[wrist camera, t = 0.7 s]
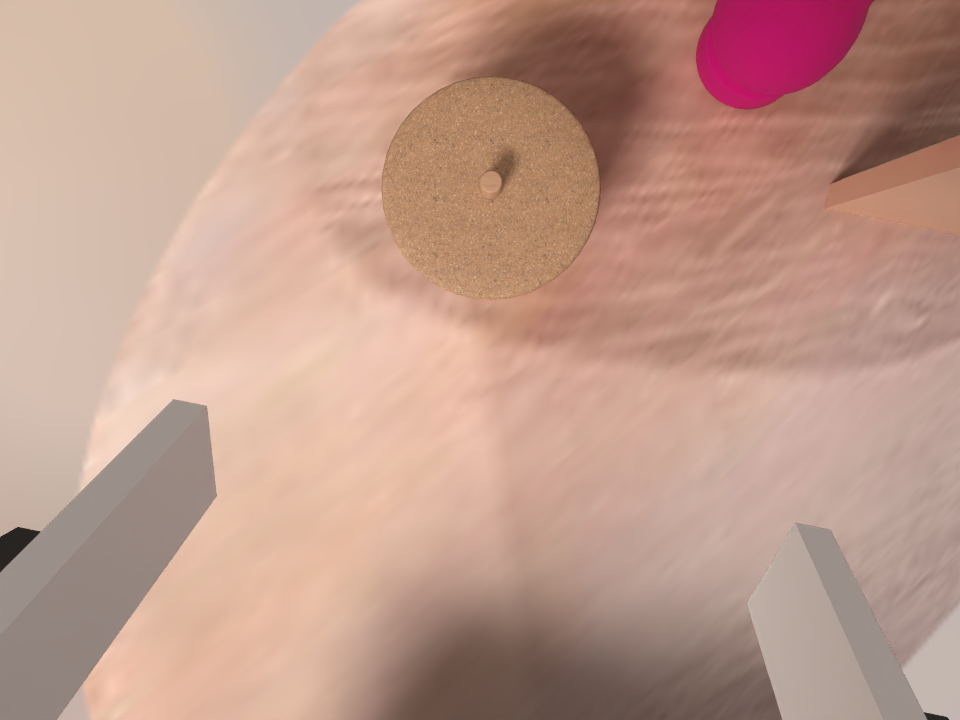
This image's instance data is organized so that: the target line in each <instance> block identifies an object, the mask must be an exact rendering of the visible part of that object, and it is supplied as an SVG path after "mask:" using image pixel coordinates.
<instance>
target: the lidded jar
mask: <svg viewBox="0 0 960 720" xmlns="http://www.w3.org/2000/svg"><path fill="white" fill-rule="evenodd" d="M600 191H601V185H600V172H599V167H598V162H597V158H596V154H595V151H594V149H593V146H592V144H591V141H590V139H589V137H588V135H587V133H586V132H585V130H584V128H583V127H582V125H581V123H580V122H579V121H578V119H577V118H576V117H575V116H574V115H573V113H572V112H571V111H570V110H569V109H568V108H567V107H566V106H565V105H564V104H563V103H561V102H560V101H559V100H558V99H557V98H556V97H554V96H552V95H551V94H549V93H548V92H546V91H544V90H543V89H541V88H539V87H537V86H534V85H532V84H529V83H527V82H524V81H520V80H516V79H512V78H507V77H492V76H488V77H478V78H471V79H467V80H463V81H459V82H456V83H453V84H451V85H449V86H447V87H444V88H442V89H440V90H438V91H437V92H435V93H434V94H432V95H431V96H429V97H428V98H426V99H425V100H424V101H423V102H421V103H420V104H419V105H418V106H417V107H416V108H415V109H414V110H413V111H412V112H411V113H410V114H409V116H408V117H407V118H406V119H405V121H404V122H403V123H402V124H401V126H400V128H399V129H398V131H397V133H396V135H395V136H394V138H393V140H392V142H391V145H390V148H389V150H388V153H387V156H386V160H385V165H384V169H383V176H382V199H383V209H384V213H385V216H386V220H387V224H388V227H389V229H390V232H391V234H392V236H393V238H394V241H395V242H396V244H397V246H398V247H399V249H400V250H401V252H402V254H403V255H404V256H405V258H406V259H407V260H408V261H409V262H410V263H411V264H412V266H413V267H414V268H415V269H416V270H417V271H419V272H420V273H421V274H422V275H423V276H424V277H426V278H427V279H428V280H430V281H431V282H433V283H435V284H436V285H438V286H440V287H441V288H443V289H445V290H448V291H450V292H453V293H455V294H458V295H461V296H465V297H470V298H474V299H486V300H496V299H508V298H512V297H516V296H520V295H524V294H527V293H529V292H531V291H534V290H536V289H538V288H541V287H542V286H544V285H545V284H547V283H549V282H550V281H552V280H553V279H555V278H556V277H557V276H559V275H560V274H561V273H562V272H563V271H564V270H565V269H567V268H568V267H569V266H570V264H571V263H572V262H573V261H574V260H575V258H576V257H577V256H578V255H579V254H580V252H581V250H582V249H583V247H584V245H585V244H586V242H587V241H588V239H589V236H590V234H591V232H592V229H593V227H594V224H595V221H596V217H597V213H598V209H599V203H600Z"/></svg>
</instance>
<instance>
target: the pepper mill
mask: <svg viewBox="0 0 960 720" xmlns="http://www.w3.org/2000/svg"><path fill="white" fill-rule="evenodd" d="M873 1H874V0H717V3H716V5H715V10H714V14H713V16H712V18H711V19H710V20H709V22H708V23H707V25H706V26H705V28H704V29H703V31H702V33H701V36H700V38H699V41H698V46H697V52H696V63H697V69H698V72H699V76H700V78H701V80H702V82H703V84H704V86H705V88H706V89H707V90H708V91H709V93H711V94H712V95H713V96H714V97H715V98H716V99H717V100H719V101H720V102H722V103H724V104H726V105H729V106H731V107H734V108H740V109H754V108H759V107H763V106H766V105H768V104H770V103H772V102H774V101H776V100H777V99H778V98H780V97H781V96H783V95H784V94H788V93H793V92H796V91H799V90H801V89H804V88H806V87H809V86H810V85H812V84H814V83H815V82H817V81H819V80H820V79H821V78H822V77H824V76H825V75H826V74H827V73H828V72H829V71H831V70H832V69H833V68H834V67H835V66H836V65H837V64H838V63H839V62H840V61H841V60H842V59H843V58H844V57H845V55H846V54H847V53H848V51H849V50H850V48H851V47H852V45H853V44H854V42H855V41H856V39H857V37H858V35H859V33H860V31H861V29H862V27H863V24H864V21H865V18H866V15H867V12H868V9H869V6H870V5H871V4H872V2H873Z"/></svg>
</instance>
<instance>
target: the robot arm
mask: <svg viewBox="0 0 960 720" xmlns="http://www.w3.org/2000/svg"><path fill="white" fill-rule="evenodd" d="M216 496H217V495H216V485H215V476H214V467H213V458H212V448H211V439H210V430H209V421H208V411H207V406H205V405H200V404H195V403H190V402H184V401H179V400H174V399H173V400H172V401H171V402H170V403H169V404H168V405H167V406H166V407H165V408H164V409H163V410H162V411H161V412H160V413H159V414H158V415H157V416H156V417H155V418H154V419H153V420H152V421H151V422H150V423H149V424H148V425H147V426H146V427H145V428H144V429H143V430H142V431H141V432H140V433H139V434H138V435H137V436H136V437H135V438H134V439H133V440H132V441H131V442H130V443H129V444H128V445H127V446H126V447H125V448H124V449H123V450H122V451H121V452H120V453H119V454H118V455H117V456H116V457H115V458H114V459H113V460H112V461H111V462H110V463H109V464H108V465H107V466H106V467H105V468H104V469H103V470H102V471H101V472H100V473H99V474H98V475H97V476H96V477H95V478H94V479H93V480H92V481H91V482H90V483H89V484H88V485H87V486H86V487H85V488H84V489H83V490H82V491H81V492H80V493H79V494H78V495H77V496H76V497H75V498H74V499H73V500H72V501H71V502H70V503H69V504H68V505H67V506H66V507H65V508H64V510H62V511H61V512H60V513H59V514H58V515H57V516H56V517H55V518H54V519H53V520H52V521H51V522H50V523H49V524H48V525H47V526H46V527H45V528H44V530H42V531H41V532H40V531H34V530H30V529H25V528H20V527H17V528H15V529H13V530H12V531H10V532H8V533H6V534H5V535H3V536H1V537H0V720H57V719H58V717H59V716H60V715H61V713H62V712H63V710H64V709H65V708H66V706H67V705H68V703H69V702H70V700H71V699H72V698H73V696H74V695H75V694H76V692H77V691H78V689H79V688H80V687H81V685H82V684H83V682H84V681H85V680H86V678H87V677H88V675H89V674H90V673H91V671H92V670H93V668H94V667H95V666H96V664H97V663H98V661H99V660H100V659H101V657H102V656H103V654H104V653H105V652H106V650H107V649H108V647H109V646H110V645H111V643H112V642H113V640H114V639H115V638H116V636H117V635H118V633H119V632H120V631H121V629H122V628H123V626H124V625H125V624H126V622H127V621H128V619H129V618H130V617H131V615H132V614H133V612H134V611H135V610H136V608H137V607H138V605H139V604H140V603H141V601H142V600H143V598H144V597H145V596H146V594H147V593H148V591H149V590H150V589H151V587H152V586H153V584H154V583H155V582H156V580H157V579H158V577H159V576H160V575H161V573H162V572H163V570H164V569H165V568H166V566H167V565H168V563H169V562H170V561H171V559H172V558H173V556H174V555H175V554H176V552H177V551H178V549H179V548H180V547H181V545H182V544H183V542H184V541H185V540H186V538H187V537H188V535H189V534H190V533H191V531H192V530H193V528H194V527H195V526H196V524H197V523H198V521H199V520H200V519H201V517H202V516H203V514H204V513H205V512H206V510H207V509H208V507H209V506H210V505H211V503H212V502H213V500H214V499H215V498H216ZM747 606H748V609H749V612H750V616H751V619H752V622H753V626H754V629H755V632H756V635H757V639H758V642H759V645H760V648H761V652H762V655H763V658H764V661H765V665H766V668H767V671H768V675H769V678H770V681H771V684H772V688H773V691H774V694H775V697H776V701H777V704H778V707H779V711H780V714H781V717H782V720H949V719H948V718H947V717H944V716H939V715H934V714H929V713H925V712H923V710H922V708H921V706H920V704H919V702H918V700H917V699H916V697H915V695H914V693H913V691H912V689H911V687H910V685H909V683H908V681H907V679H906V677H905V675H904V673H903V671H902V669H901V667H900V665H899V663H898V661H897V659H896V657H895V655H894V653H893V651H892V649H891V647H890V646H889V644H888V642H887V640H886V638H885V636H884V634H883V632H882V630H881V628H880V626H879V624H878V622H877V620H876V618H875V616H874V614H873V612H872V610H871V608H870V606H869V604H868V602H867V600H866V598H865V596H864V595H863V593H862V591H861V589H860V587H859V585H858V583H857V581H856V579H855V577H854V575H853V573H852V571H851V569H850V567H849V565H848V563H847V561H846V559H845V557H844V555H843V553H842V551H841V549H840V547H839V545H838V544H837V542H836V540H835V538H834V536H833V534H832V532H831V530H829V529H824V528H819V527H814V526H809V525H804V524H799V523H795V524H794V526H793V527H792V529H791V531H790V532H789V534H788V536H787V537H786V539H785V541H784V542H783V544H782V546H781V547H780V549H779V551H778V552H777V554H776V556H775V557H774V559H773V561H772V562H771V564H770V566H769V567H768V569H767V571H766V572H765V574H764V576H763V577H762V579H761V581H760V582H759V584H758V586H757V587H756V589H755V591H754V592H753V594H752V596H751V597H750V599H749V601H748V602H747Z"/></svg>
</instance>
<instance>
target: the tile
mask: <svg viewBox="0 0 960 720" xmlns="http://www.w3.org/2000/svg"><path fill="white" fill-rule="evenodd" d="M825 209H829V210H834V211H839V212H844V213H849V214H854V215H859V216H864V217H869V218H875V219H880V220H885V221H890V222H895V223H900V224H905V225H910V226H915V227H920V228H925V229H930V230H935V231H940V232H945V233H950V234H956V235H960V135H958V136H955V137H952V138H950V139H947V140H944V141H942V142H939V143H936V144H934V145H931V146H928V147H926V148H923V149H920V150H918V151H915V152H912V153H910V154H907V155H904V156H902V157H899V158H896V159H894V160H891V161H888V162H886V163H883V164H880V165H878V166H875V167H872V168H870V169H867V170H864V171H862V172H859V173H856V174H854V175H851V176H848V177H846V178H843V179H842V180H840V181H837V182H835V183H832V184H830V188H829V192H828V196H827V201H826V205H825Z"/></svg>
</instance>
